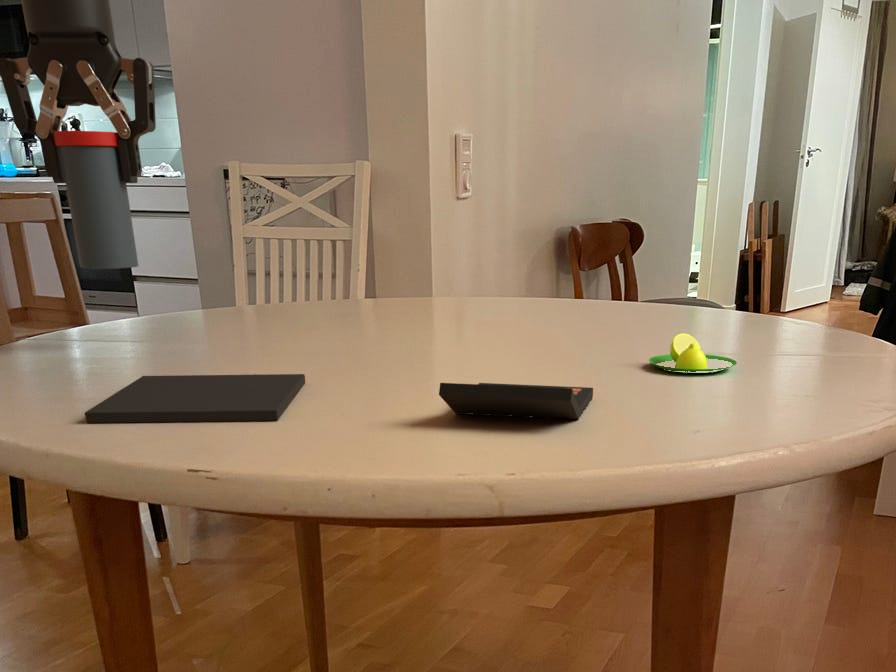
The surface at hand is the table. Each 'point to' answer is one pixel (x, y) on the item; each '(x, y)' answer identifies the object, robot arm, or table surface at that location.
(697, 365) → the lemon
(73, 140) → the tumbler
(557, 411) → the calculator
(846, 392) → the table surface
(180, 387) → the mat
